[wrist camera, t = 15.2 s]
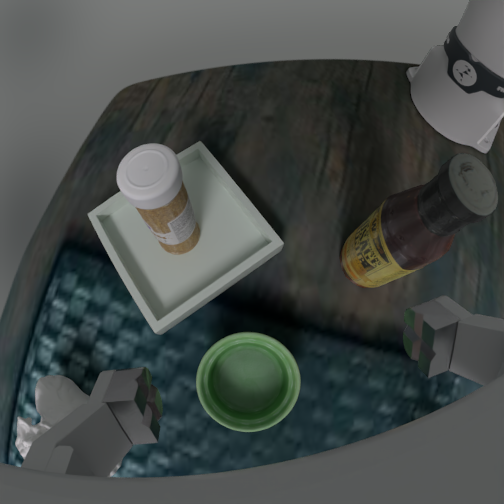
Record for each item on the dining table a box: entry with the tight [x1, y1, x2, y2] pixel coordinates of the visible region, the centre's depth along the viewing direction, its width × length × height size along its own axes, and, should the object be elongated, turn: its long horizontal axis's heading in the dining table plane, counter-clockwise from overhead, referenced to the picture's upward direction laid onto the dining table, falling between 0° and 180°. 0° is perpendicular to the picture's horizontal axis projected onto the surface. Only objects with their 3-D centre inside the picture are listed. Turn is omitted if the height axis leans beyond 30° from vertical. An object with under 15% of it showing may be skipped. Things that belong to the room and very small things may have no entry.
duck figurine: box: [15, 375, 122, 477], centre depth 23 cm, size 12×8×11 cm
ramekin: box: [196, 332, 301, 432], centre depth 28 cm, size 9×9×4 cm
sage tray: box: [88, 141, 284, 335], centre depth 33 cm, size 15×15×2 cm
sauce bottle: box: [340, 153, 498, 288], centre depth 24 cm, size 7×6×20 cm
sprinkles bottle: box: [117, 143, 200, 255], centre depth 27 cm, size 5×5×14 cm
